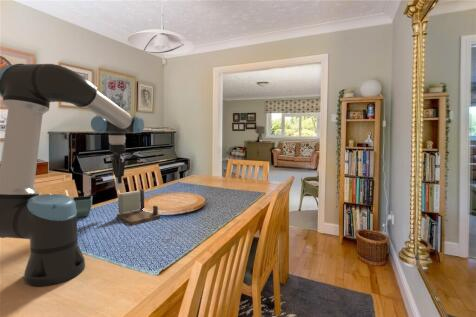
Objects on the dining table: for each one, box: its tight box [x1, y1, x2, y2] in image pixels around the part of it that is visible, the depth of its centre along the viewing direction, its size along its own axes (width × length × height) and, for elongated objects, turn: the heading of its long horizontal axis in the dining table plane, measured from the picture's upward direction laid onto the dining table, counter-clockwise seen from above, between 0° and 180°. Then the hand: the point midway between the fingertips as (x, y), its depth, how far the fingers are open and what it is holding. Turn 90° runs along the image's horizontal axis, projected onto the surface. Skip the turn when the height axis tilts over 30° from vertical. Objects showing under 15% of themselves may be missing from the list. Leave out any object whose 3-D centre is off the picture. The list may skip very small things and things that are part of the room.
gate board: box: [116, 188, 161, 226], centre depth 131 cm, size 15×16×12 cm
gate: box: [117, 190, 140, 214], centre depth 134 cm, size 10×2×10 cm, turn 136°
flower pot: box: [71, 195, 93, 218], centre depth 133 cm, size 9×9×9 cm
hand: (119, 189), depth 136 cm, fingers closed
